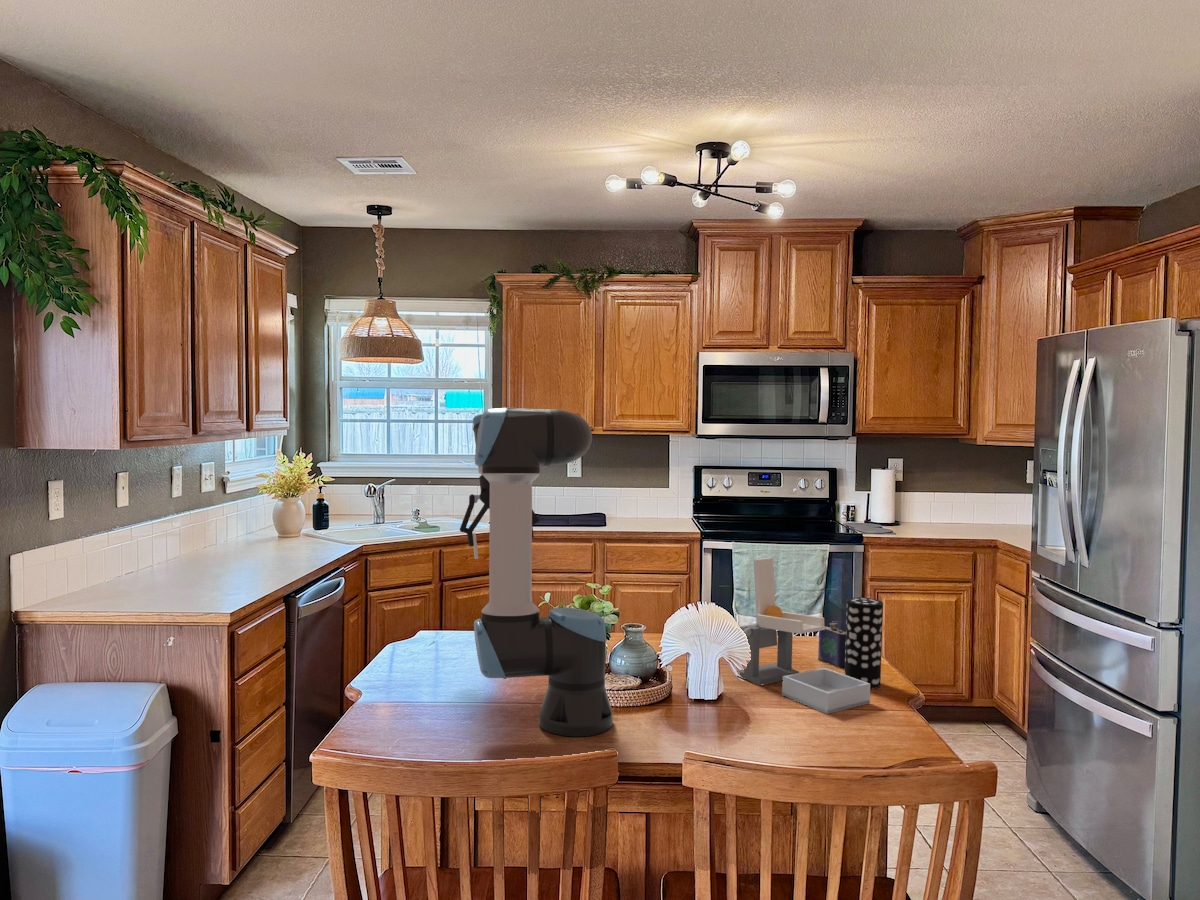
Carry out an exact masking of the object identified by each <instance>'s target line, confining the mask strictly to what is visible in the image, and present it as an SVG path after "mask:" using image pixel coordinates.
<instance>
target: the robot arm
mask: <svg viewBox="0 0 1200 900" xmlns="http://www.w3.org/2000/svg"><path fill="white" fill-rule="evenodd" d="M472 423H473V424H472V425H473V426H472V431H473V434H474V443H475V451H474V452H475V454H474V464H475V466H477V470H478V474H479V477H478V478H479V488H480V493H479V494H470V495H469V496H468V505H467V509H466V511H465V513H464V516H463V520H462V522H461V525H460V528H459V531H460V532H461V533H465V534H467V543H468V546H469V547H473V548H472V549H473V555H474V557H473V558H474V560H478V559H479V551H478V543H477V535H476V532H474V530H475V529H476V528H477V526H478V524H479V523H480V521H481V519H482V518H484V517H483V516H484V515H485V514H486V512H487V511H488V509H489V537H488V538H489V540H488V542H489V547H488V548H489V549H488V550H489V560H488V561H489V563H488V564H489V567H488V568H489V570H488V571H489V572H488V575H489V577H488V578H489V580H488V584H489V586H488V591H489V592H488V596H489V597H488V598H489V599H488V602H487V603H486V605H485V606H484V607H483V608H482V609H481V618H477V619H475V620H474V622H473V626H474V627H473V632H474V633H473V634H474V640H475V647H476V654H477V660H478V664H479V669H480V673H481V674H482V675H483V676H484V677H486V678H488V679H504V680H506V679H510V678H525V677H527V678H529V677H544V676H545V677H548V684H547V688H546V691H545V693H544V694H545V695H544V697H543V701H542V702H541V703H542V704H541V706H540V709H539V713H538V715H539V716H538V717H539V718H538V725H539V726H540V727H541V729H543V730H544V731H546V732H548V733H551V734H554V735H558V736H564V737H589V736H594V735H598V734H602V733H604V732H606V731H609V729H611V728H612V726H613V721H614V720H613V716H614V714H613V710H612V706H611V703H610V700H609V696H608V693H607V689H606V686H605V685H606V683H605V682H606V679H605V678H606V644H607V640H608V639H607V633H606V632H607V631H606V621H605V620H604V619H603V617H602V616H601V615H599V614H598V613H595V612H592V611H589V610H586V609H581V608H573V607H564V606H563V607H554V608H553V607H552V608H551V609H550V610H549V613H548V614H547V615H548V616H545V617H544V616H543V617H542V616H540V609H539V607H538V606H537V605H536V604H535V603H534V602H533V597H532V596H533V595H532V593H533V591H532V589H533V588H532V587H533V581H532V580H533V576H532V575H533V572H532V571H533V538H534V536H535V535H534V528H533V527H534V525H535V524H537V523H539V521H540V519H539V517H538V516H537V515H536V513H535V511H534V510H533V482H534V481H535V480H536V479H537V478H538V477H539V476H540V475H541V474H540V473H541V472H540V471H541V468H540V467H548V466H549V467H551V466H552V467H553V466H562V465H566V464H569V463H572V462H574V461H577V460H578V459H580V458H582V457H583V456H584V455H586V453H587V452H588V450H590V447H591V445H592V442H593V434H592V433H593V432H592V429H591V426H590V425H589V423H588V422H587V421H586V420H585V419H584V417H581V416H580V415H578V414H576V413H573V412H571V411H567V410H563V409H559V408H558V409H555V408H549V409H547V408H545V409H544V408H524V407H523V408H518V407H501V408H499V407H498V408H497V407H496V408H489V409H486V410H484V411H483V413H480V414H478V415H475V416H474V417H473V418H472ZM479 500H480V501H481V502H482V503H483V505H482V507H481V509H480V510H479V512H478V513H477V515H476V516H475V517H474V520H473V521H472V522H471V524H470V525H469V526H467V525H468V523H469V520H470V518H471V515H472V512H473V509H474V507H475V504H477V503H478V501H479Z"/></svg>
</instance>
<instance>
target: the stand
mask: <svg viewBox="0 0 1200 900" xmlns="http://www.w3.org/2000/svg"><path fill="white" fill-rule="evenodd" d="M750 625H751V624H750ZM744 626H745V625H744ZM777 632H778V633H777V653H776V654H777V657H776V658H777V659H776V662H774V663H768V664H763V665H760V648H759V642H760V628H758V627H755V626H752V625H751V626H745V629H744V633H745V634H746V636H747V639H748V643H749V645H750V650H751V660H750V662H749V663H748V664H747V668H746V669H744V668H743V669H744V670H743V669H738V670H739V672H740V675H741V676H742V677H743V678H745V679H747V680H749V681H751V682H754V683H756V684H758V685H757V686H759V685H761V684H765V685H768V684H767V683H770V684H773V683H772V682H775V683H778V682H777V681H780V682H782V680H783V676H786V675H791V674H796V673H800V671H799V670H797V669H793V668H792V666H793V664H792V663H793V635H794V633H792V632H786V631H780V630H777ZM747 680H746V681H747ZM749 681H748V682H749ZM751 682H750V683H751ZM754 683H753V684H754ZM756 684H755V685H756ZM761 686H762V685H761Z"/></svg>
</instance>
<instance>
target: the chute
mask: <svg viewBox="0 0 1200 900" xmlns="http://www.w3.org/2000/svg"><path fill="white" fill-rule="evenodd" d="M774 565H775V564H774V557H765V558H764V557H763V558H754V559H753V573H754V574H753V575H754V597H755V621H756V622H755V623H752V624H745V625H740V628H741V629H742V630H743V631H744V629H745V626H751V625H752V626H755V627H758V628H760V642H759V649H764V648H770V647H775V646H778V633H777V632H778V630H780V631H786V632H792V633H793V634H798V635H802V634H807V633H813V632H819V631H820V630H825V627H826V626H825V617H822V616H817V615H816V616H815V615H809V614H802V613H796V612H787V611H782V618H779V617H773V616H766V610H767V608H768V607H770V606H776V593H775V567H774Z"/></svg>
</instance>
